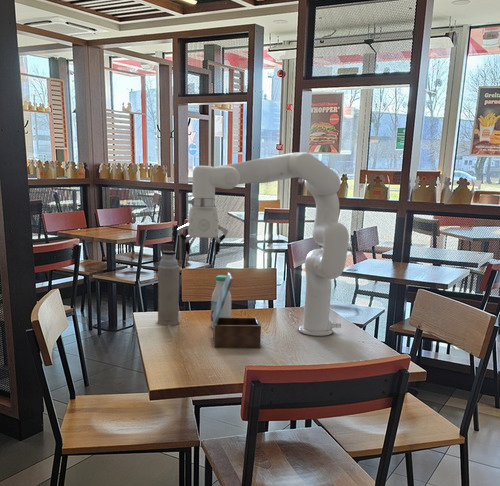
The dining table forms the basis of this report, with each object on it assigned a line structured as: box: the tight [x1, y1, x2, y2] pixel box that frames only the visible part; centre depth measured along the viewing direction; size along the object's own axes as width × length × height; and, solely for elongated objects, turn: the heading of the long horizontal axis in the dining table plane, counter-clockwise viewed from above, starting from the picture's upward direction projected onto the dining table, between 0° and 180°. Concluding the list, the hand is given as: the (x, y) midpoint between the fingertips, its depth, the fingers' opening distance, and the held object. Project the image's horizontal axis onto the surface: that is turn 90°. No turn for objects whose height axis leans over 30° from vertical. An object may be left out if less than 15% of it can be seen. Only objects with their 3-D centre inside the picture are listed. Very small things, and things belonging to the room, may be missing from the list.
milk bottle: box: [210, 274, 232, 329], centre depth 218 cm, size 8×8×20 cm
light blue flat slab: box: [212, 272, 234, 324], centre depth 197 cm, size 16×11×1 cm
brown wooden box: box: [212, 316, 262, 349], centre depth 200 cm, size 16×11×8 cm
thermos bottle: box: [157, 250, 180, 327], centre depth 220 cm, size 8×8×28 cm
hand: (202, 253), depth 197 cm, fingers open, 9 cm apart
